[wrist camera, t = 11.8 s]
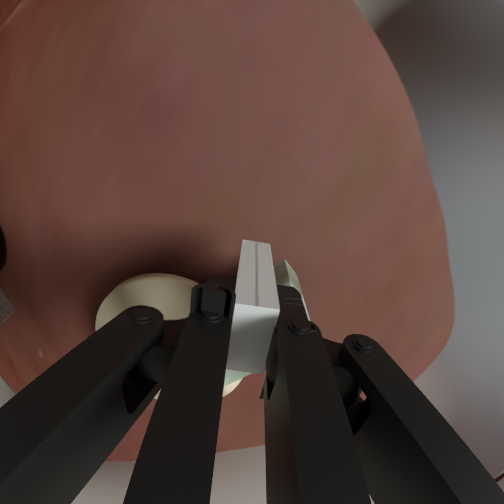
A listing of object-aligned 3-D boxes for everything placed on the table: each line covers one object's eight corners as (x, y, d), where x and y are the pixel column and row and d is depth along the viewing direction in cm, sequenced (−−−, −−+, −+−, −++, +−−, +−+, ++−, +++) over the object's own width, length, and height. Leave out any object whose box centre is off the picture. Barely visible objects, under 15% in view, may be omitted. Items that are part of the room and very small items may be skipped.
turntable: (233, 191, 17) (217, 215, 10) (334, 327, 20) (360, 395, 13) (79, 320, 20) (36, 370, 14) (172, 408, 23) (156, 466, 17)
